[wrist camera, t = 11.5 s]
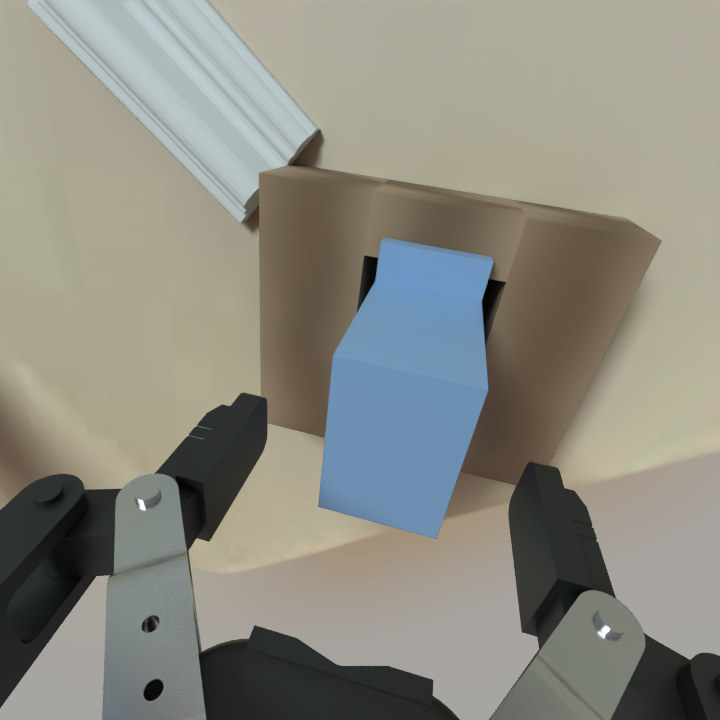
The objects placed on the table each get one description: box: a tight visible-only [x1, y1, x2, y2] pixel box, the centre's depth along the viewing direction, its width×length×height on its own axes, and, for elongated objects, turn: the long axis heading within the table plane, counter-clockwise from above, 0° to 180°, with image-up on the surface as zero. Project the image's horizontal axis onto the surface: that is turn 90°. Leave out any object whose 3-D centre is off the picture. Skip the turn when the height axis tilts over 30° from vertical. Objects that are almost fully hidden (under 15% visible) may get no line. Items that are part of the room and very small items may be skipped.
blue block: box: [318, 238, 493, 539], centre depth 16 cm, size 4×9×10 cm, turn 173°
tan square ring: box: [259, 164, 662, 485], centre depth 19 cm, size 14×12×4 cm
